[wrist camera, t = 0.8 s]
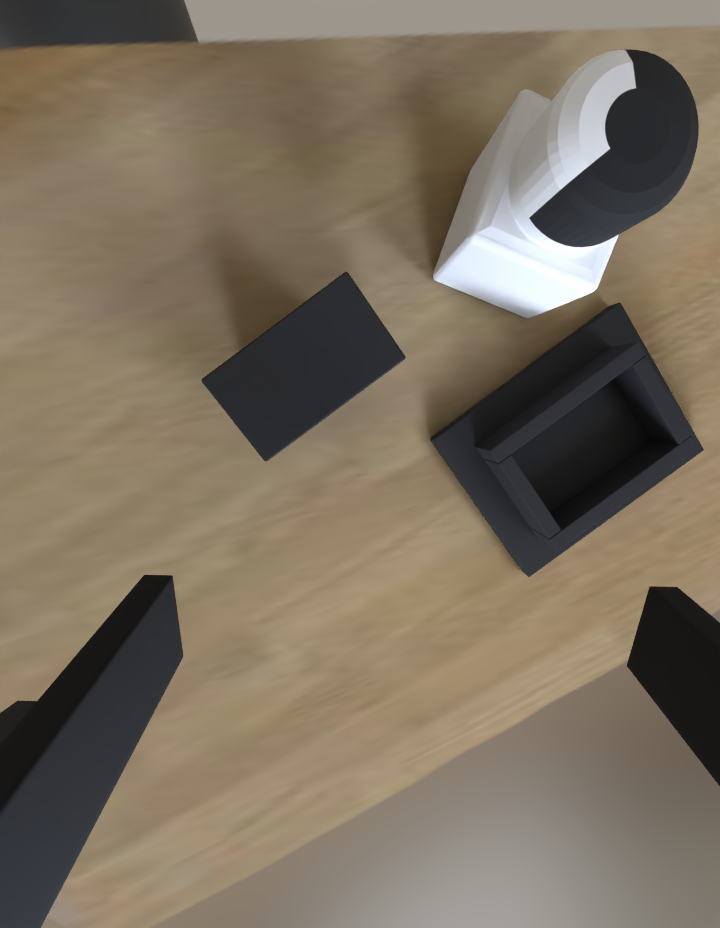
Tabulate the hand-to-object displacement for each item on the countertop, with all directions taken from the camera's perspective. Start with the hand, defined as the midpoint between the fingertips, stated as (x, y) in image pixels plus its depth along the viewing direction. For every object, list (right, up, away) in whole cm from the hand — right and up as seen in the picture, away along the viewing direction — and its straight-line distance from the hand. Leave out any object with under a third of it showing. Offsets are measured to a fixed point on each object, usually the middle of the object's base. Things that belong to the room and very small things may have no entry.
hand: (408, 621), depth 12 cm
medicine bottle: (+8, +18, +15) cm, 25 cm away
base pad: (+13, +6, +18) cm, 23 cm away
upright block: (-5, +10, +15) cm, 19 cm away
